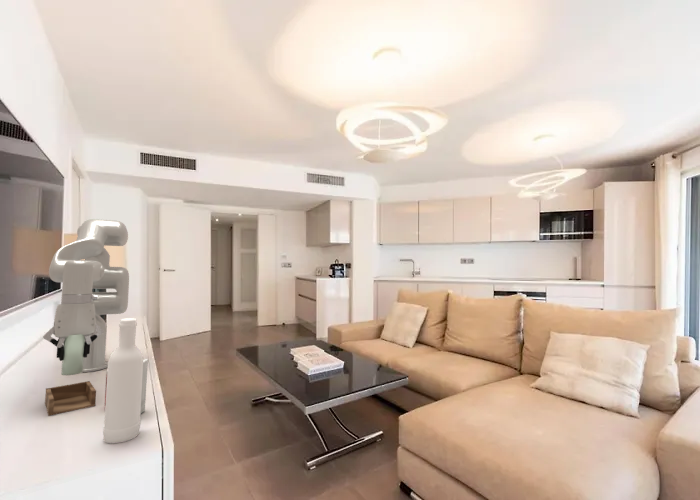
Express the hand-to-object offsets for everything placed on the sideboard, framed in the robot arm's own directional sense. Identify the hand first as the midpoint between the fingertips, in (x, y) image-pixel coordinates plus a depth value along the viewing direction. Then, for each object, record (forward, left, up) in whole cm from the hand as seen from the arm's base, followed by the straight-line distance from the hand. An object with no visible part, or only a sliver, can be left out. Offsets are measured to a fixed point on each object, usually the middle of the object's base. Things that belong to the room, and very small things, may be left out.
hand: (73, 357), depth 107 cm
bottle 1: (0, 0, -5) cm, 5 cm away
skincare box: (+20, +11, -15) cm, 28 cm away
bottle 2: (+32, +7, -15) cm, 36 cm away
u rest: (-1, 0, -15) cm, 15 cm away
